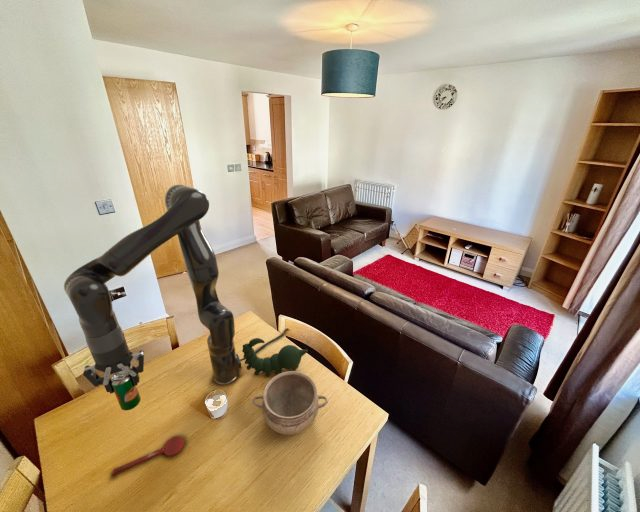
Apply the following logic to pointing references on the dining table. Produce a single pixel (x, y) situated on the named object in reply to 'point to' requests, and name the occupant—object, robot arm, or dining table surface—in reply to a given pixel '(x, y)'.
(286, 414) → the cooking pot
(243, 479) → the dining table surface
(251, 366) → the toy figurine
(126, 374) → the soda can
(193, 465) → the dining table surface
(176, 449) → the spoon
